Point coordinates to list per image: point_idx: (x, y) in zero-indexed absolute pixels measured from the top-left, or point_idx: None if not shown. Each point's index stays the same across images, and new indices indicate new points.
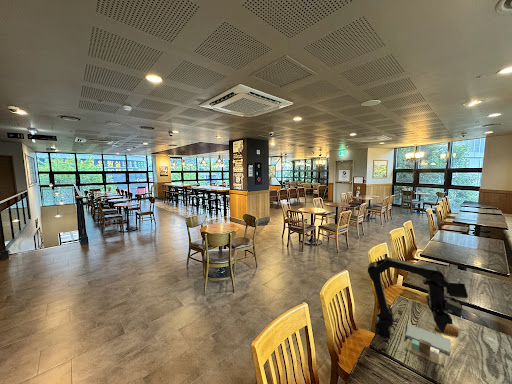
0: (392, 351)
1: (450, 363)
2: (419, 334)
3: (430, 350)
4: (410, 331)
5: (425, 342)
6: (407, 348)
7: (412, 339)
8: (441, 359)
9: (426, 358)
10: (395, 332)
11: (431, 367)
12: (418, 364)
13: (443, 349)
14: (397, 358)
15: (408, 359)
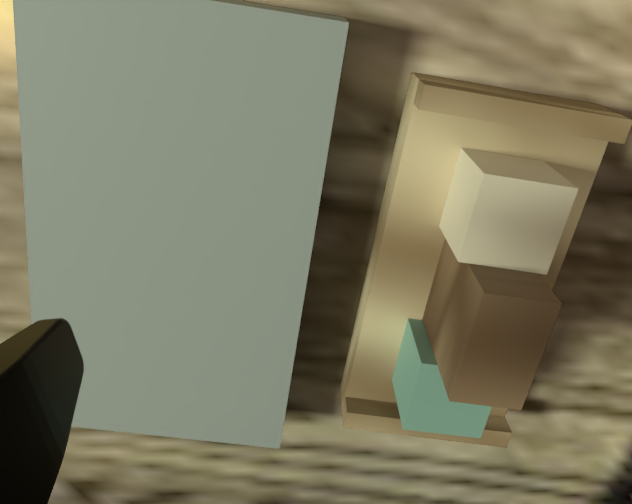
0: (536, 489)
1: (459, 24)
2: (176, 329)
3: (543, 269)
4: (183, 409)
5: (504, 348)
6: (508, 426)
7: (417, 429)
8: (511, 128)
9: (559, 268)
10: (229, 482)
11: (616, 215)
12: (620, 316)
13: (330, 93)
14: (612, 456)
15: (586, 386)
